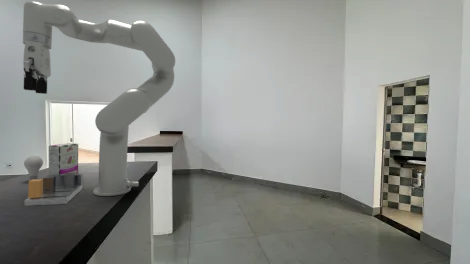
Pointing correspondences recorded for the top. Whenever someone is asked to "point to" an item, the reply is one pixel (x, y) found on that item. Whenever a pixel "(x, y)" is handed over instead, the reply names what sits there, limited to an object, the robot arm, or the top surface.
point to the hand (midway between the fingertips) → (36, 91)
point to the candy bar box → (63, 158)
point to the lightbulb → (33, 166)
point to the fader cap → (35, 188)
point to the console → (58, 189)
